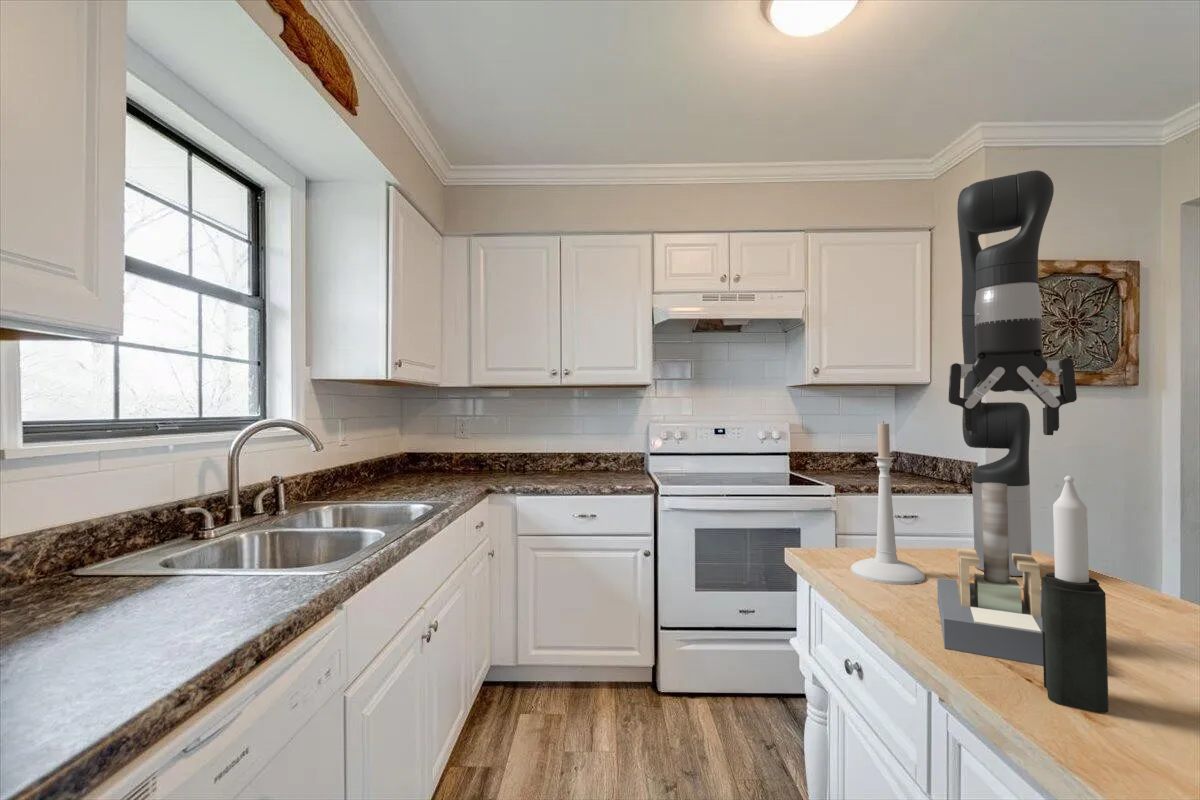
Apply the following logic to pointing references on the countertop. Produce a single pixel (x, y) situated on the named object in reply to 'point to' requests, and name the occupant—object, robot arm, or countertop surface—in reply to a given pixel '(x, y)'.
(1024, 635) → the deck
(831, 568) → the countertop surface
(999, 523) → the post on square base
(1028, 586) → the wooden brackets
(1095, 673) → the candle
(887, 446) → the candlestick
